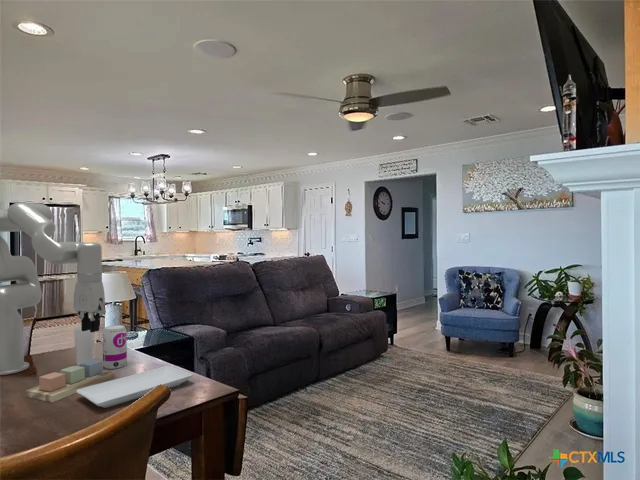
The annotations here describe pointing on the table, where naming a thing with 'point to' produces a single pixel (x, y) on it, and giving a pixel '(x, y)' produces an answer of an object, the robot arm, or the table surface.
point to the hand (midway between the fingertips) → (90, 330)
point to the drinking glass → (83, 344)
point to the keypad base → (68, 387)
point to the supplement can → (114, 347)
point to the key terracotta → (52, 381)
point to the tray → (133, 386)
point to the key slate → (92, 367)
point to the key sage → (73, 374)
